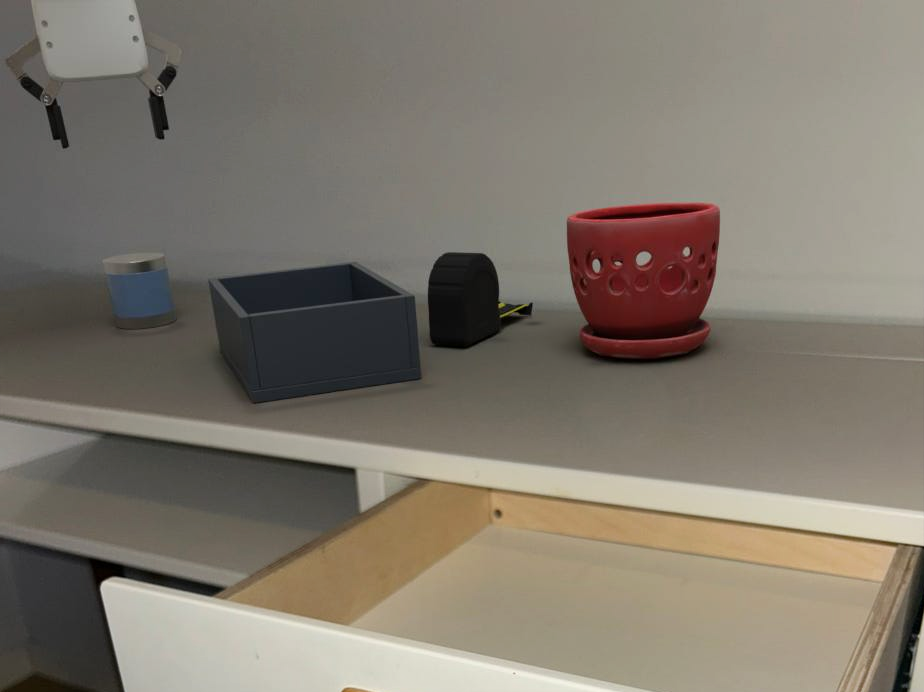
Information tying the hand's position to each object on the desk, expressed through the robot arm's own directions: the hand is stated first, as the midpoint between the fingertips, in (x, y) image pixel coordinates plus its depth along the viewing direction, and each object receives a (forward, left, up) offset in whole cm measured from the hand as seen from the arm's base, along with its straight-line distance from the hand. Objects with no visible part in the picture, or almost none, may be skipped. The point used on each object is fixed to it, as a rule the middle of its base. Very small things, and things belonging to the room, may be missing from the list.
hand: (113, 143), depth 112 cm
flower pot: (+41, -41, -19) cm, 61 cm away
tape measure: (+31, -26, -19) cm, 44 cm away
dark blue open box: (+13, -30, -18) cm, 38 cm away
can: (0, 0, -18) cm, 18 cm away
